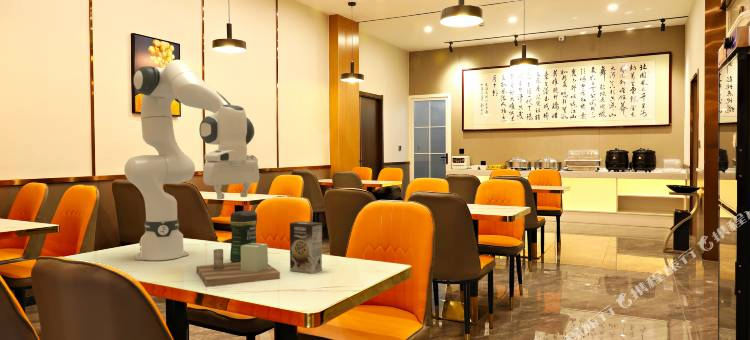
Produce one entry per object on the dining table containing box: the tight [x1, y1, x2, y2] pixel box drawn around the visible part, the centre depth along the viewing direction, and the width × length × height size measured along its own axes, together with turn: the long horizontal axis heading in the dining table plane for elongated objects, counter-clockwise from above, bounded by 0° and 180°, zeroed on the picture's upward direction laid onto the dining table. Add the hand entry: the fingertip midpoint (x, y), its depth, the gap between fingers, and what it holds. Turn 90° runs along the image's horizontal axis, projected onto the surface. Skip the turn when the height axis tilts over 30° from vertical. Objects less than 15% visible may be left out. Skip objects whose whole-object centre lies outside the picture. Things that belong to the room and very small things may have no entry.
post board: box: [195, 248, 281, 288], centre depth 168 cm, size 22×22×8 cm
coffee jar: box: [229, 210, 258, 263], centre depth 190 cm, size 10×8×19 cm
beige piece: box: [241, 242, 269, 272], centre depth 167 cm, size 6×6×8 cm
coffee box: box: [289, 220, 323, 274], centre depth 174 cm, size 9×6×16 cm
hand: (232, 198), depth 169 cm, fingers open, 8 cm apart
